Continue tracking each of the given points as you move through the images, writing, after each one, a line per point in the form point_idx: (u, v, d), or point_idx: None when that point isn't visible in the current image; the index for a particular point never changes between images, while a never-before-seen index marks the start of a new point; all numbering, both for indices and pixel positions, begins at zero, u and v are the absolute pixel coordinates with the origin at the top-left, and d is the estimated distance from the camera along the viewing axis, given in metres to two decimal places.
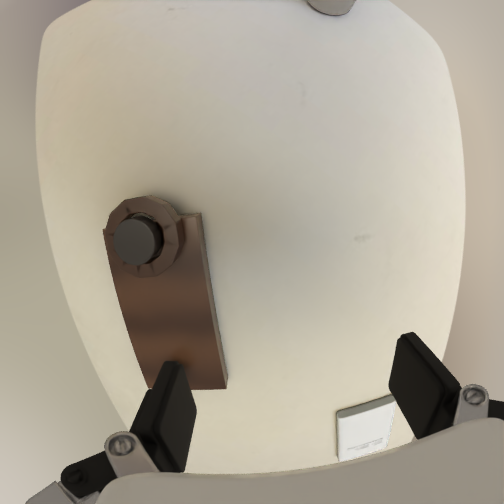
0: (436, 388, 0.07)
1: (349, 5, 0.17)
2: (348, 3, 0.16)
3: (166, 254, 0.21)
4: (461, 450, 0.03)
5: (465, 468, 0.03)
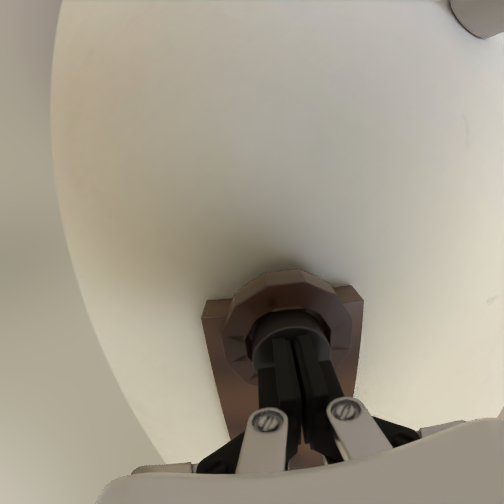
0: (305, 394, 0.08)
1: (499, 32, 0.09)
2: (501, 31, 0.08)
3: None
4: (461, 450, 0.03)
5: (465, 468, 0.03)
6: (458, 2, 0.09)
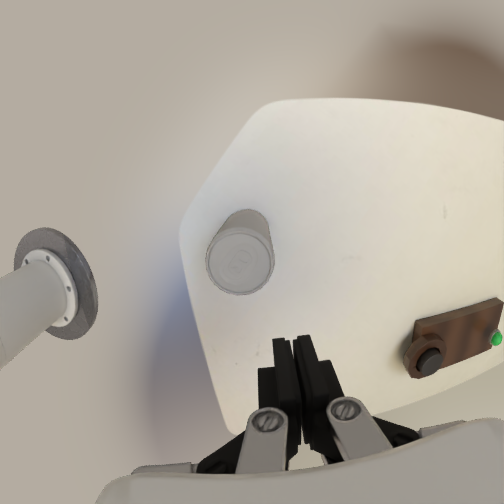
0: (305, 394, 0.08)
1: (265, 221, 0.28)
2: (267, 225, 0.27)
3: (439, 345, 0.30)
4: (461, 450, 0.03)
5: (465, 468, 0.03)
6: None
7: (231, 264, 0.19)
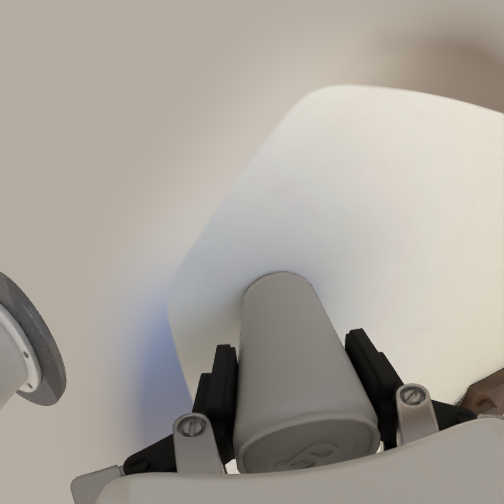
0: (372, 384, 0.08)
1: (318, 298, 0.16)
2: None
3: (492, 412, 0.18)
4: (461, 450, 0.03)
5: (465, 468, 0.03)
6: None
7: (294, 461, 0.07)
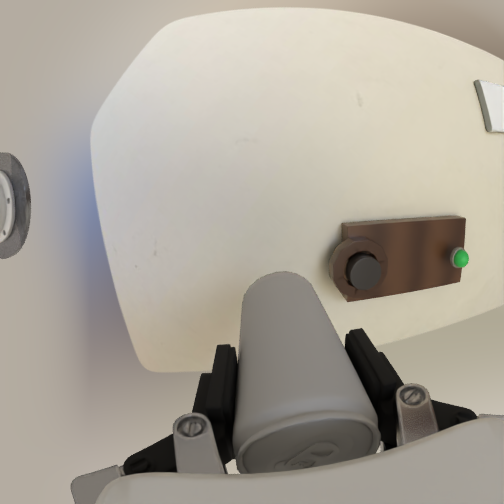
0: (372, 384, 0.08)
1: None
2: None
3: (374, 250, 0.28)
4: (461, 450, 0.03)
5: (465, 468, 0.03)
6: None
7: (294, 461, 0.07)
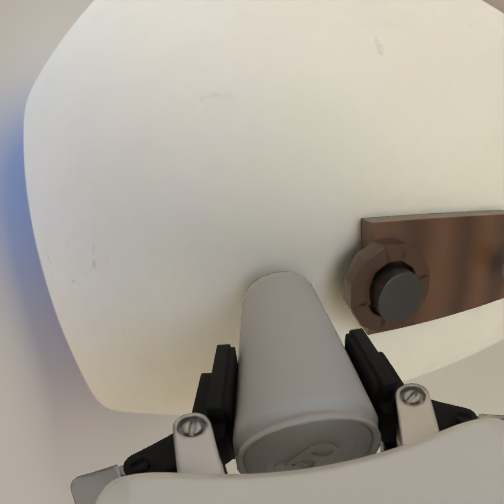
0: (372, 384, 0.08)
1: None
2: None
3: (413, 259, 0.17)
4: (461, 450, 0.03)
5: (465, 468, 0.03)
6: None
7: (294, 462, 0.07)
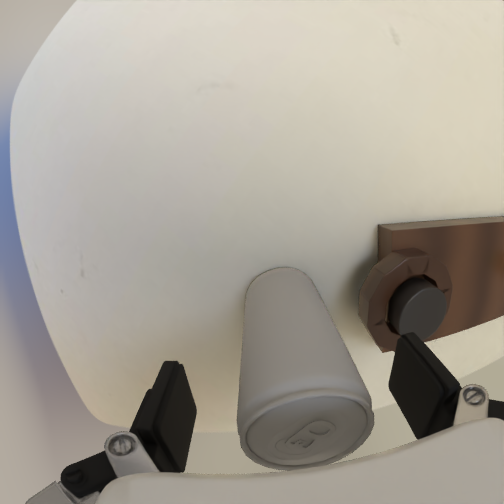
0: (436, 388, 0.07)
1: (317, 291, 0.16)
2: None
3: (436, 272, 0.14)
4: (461, 450, 0.03)
5: (465, 468, 0.03)
6: None
7: (294, 440, 0.08)
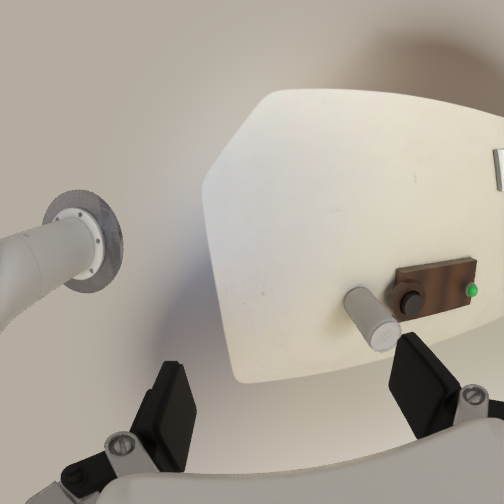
0: (436, 388, 0.07)
1: None
2: None
3: (419, 289, 0.38)
4: (461, 450, 0.03)
5: (465, 468, 0.03)
6: None
7: (382, 338, 0.31)
